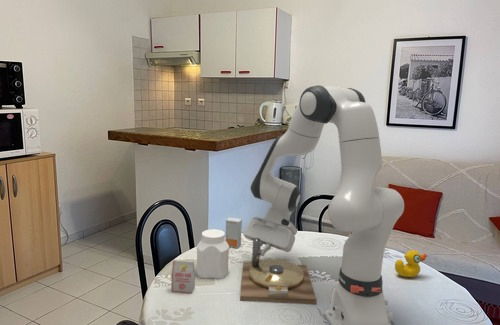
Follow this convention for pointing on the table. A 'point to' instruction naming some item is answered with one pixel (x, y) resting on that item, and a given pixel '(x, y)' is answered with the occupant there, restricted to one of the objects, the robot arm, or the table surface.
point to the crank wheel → (273, 271)
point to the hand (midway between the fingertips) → (259, 254)
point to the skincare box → (233, 232)
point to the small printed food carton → (183, 276)
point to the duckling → (410, 264)
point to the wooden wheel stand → (277, 290)
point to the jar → (212, 255)
